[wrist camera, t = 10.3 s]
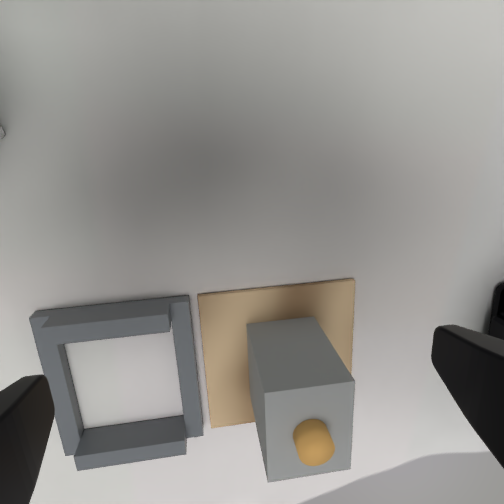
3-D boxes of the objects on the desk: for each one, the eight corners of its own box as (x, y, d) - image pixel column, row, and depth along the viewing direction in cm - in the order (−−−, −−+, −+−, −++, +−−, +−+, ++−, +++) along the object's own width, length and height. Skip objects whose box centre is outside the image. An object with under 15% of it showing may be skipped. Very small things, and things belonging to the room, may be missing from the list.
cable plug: (313, 316, 22) (364, 396, 15) (313, 387, 24) (359, 487, 17) (246, 323, 22) (268, 409, 15) (250, 396, 23) (272, 502, 17)
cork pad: (353, 278, 22) (355, 280, 22) (348, 404, 25) (349, 408, 25) (197, 294, 21) (197, 296, 21) (211, 424, 24) (211, 428, 23)
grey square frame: (188, 295, 21) (188, 311, 19) (202, 425, 24) (203, 451, 22) (35, 311, 20) (18, 330, 18) (69, 445, 23) (58, 473, 21)
